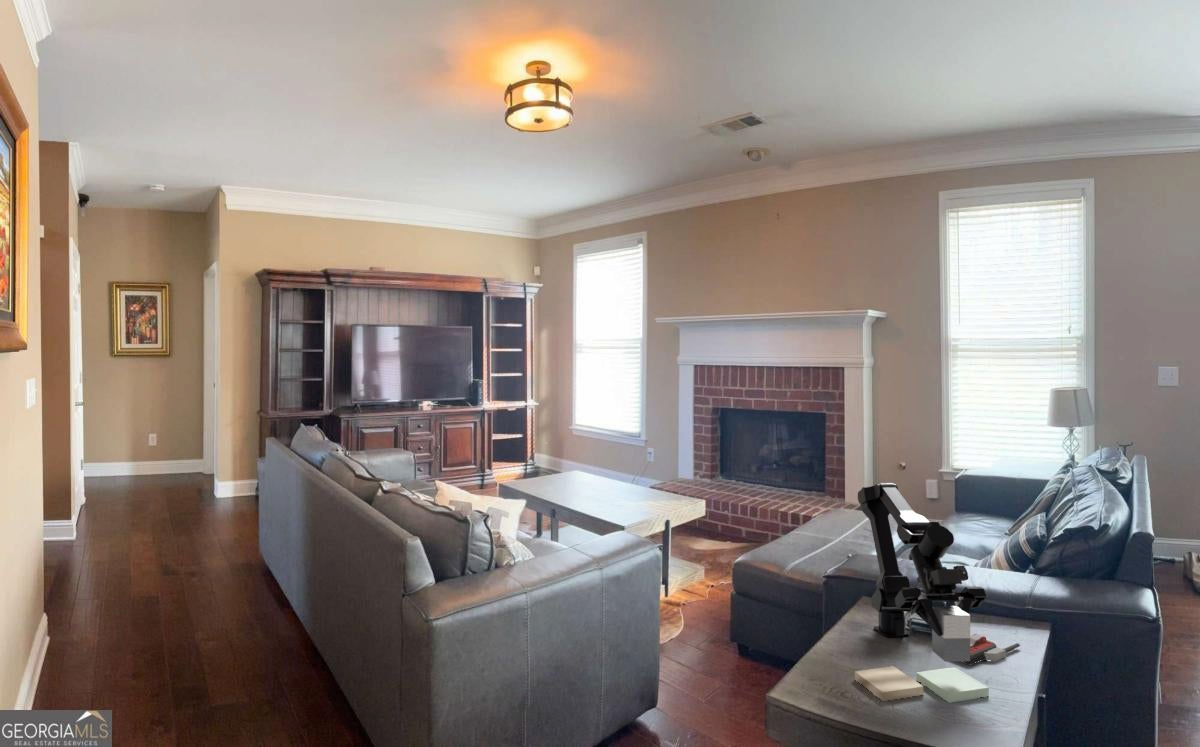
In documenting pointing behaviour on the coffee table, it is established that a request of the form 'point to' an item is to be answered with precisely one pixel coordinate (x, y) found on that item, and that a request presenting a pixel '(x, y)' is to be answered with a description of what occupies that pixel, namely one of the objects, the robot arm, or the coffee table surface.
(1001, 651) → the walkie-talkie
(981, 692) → the stand
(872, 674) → the stand
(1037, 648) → the coffee table surface
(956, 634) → the block
